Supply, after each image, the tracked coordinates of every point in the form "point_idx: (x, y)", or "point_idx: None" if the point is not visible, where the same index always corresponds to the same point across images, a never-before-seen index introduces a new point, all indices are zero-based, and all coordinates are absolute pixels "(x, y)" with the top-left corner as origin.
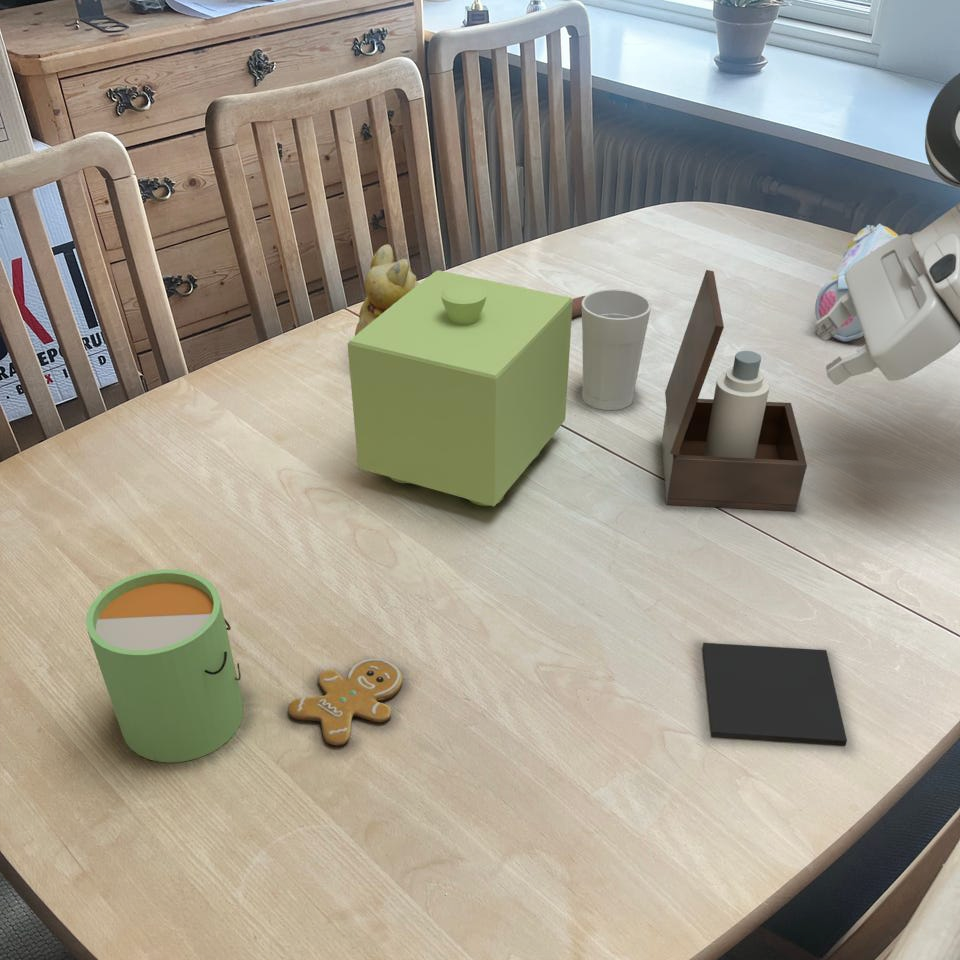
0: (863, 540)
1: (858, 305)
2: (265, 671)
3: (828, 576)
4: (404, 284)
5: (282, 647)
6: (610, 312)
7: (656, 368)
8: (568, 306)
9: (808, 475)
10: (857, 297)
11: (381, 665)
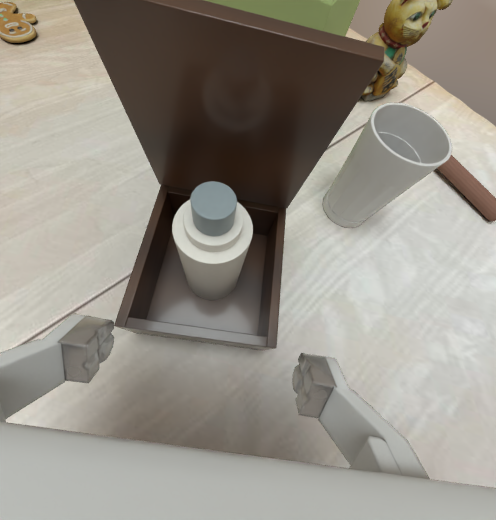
0: (61, 401)
1: (231, 471)
2: (53, 5)
3: (9, 336)
4: (403, 5)
5: (71, 12)
6: (421, 158)
7: (403, 258)
8: (316, 3)
9: (204, 368)
10: (303, 489)
11: (24, 32)
